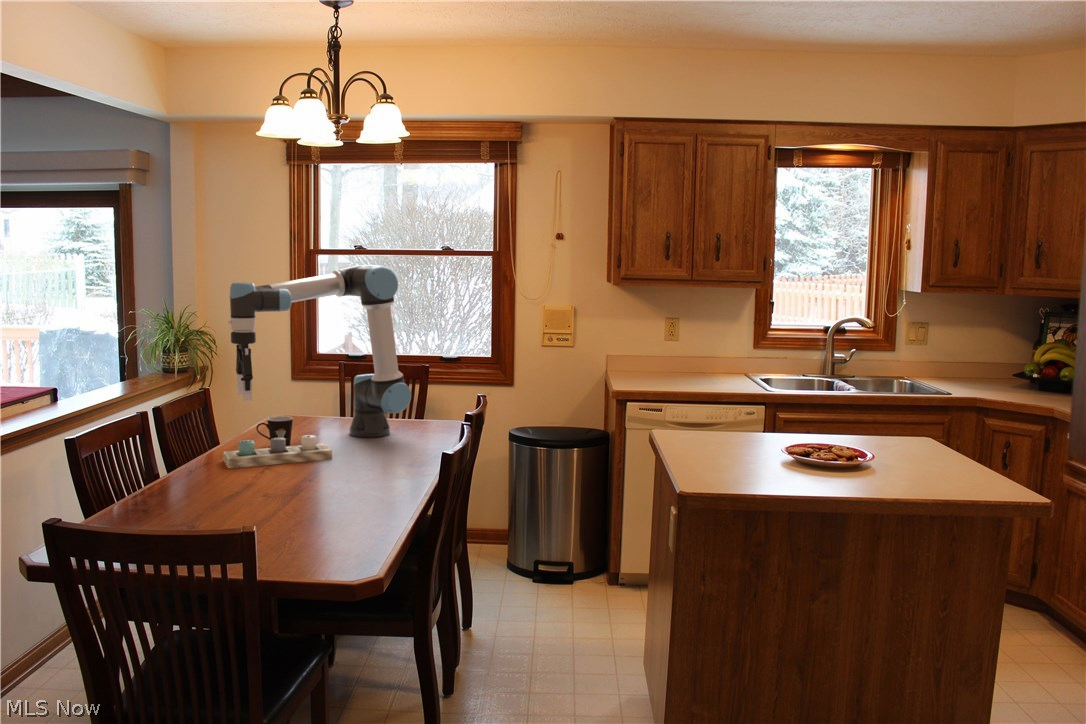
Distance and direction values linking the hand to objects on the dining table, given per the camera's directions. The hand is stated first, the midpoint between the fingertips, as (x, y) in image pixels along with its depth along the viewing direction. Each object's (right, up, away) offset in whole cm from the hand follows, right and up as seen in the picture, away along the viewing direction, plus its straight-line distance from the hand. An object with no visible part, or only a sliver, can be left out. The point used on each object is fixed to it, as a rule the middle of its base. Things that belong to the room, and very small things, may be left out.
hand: (244, 397), depth 274 cm
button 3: (0, -19, +2) cm, 19 cm away
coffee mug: (+2, -19, +26) cm, 32 cm away
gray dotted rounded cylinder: (+9, -19, +7) cm, 22 cm away
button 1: (+18, -18, +11) cm, 28 cm away
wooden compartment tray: (+9, -21, +7) cm, 24 cm away
